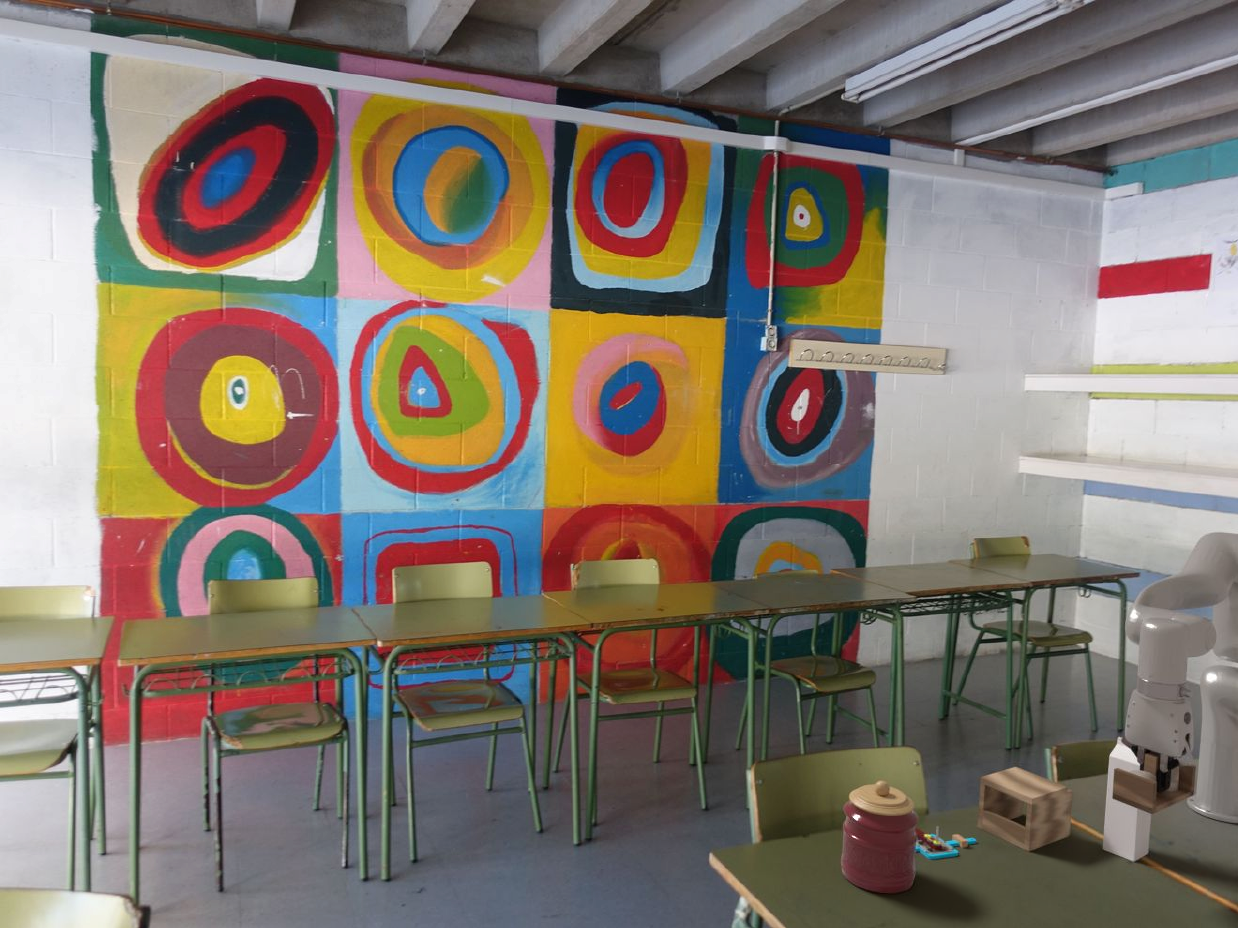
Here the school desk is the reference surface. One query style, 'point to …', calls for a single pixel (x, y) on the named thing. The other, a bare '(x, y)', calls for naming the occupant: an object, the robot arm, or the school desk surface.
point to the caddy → (1152, 785)
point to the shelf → (1006, 801)
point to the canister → (879, 839)
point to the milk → (1124, 813)
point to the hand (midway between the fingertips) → (1154, 786)
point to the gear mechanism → (940, 844)
